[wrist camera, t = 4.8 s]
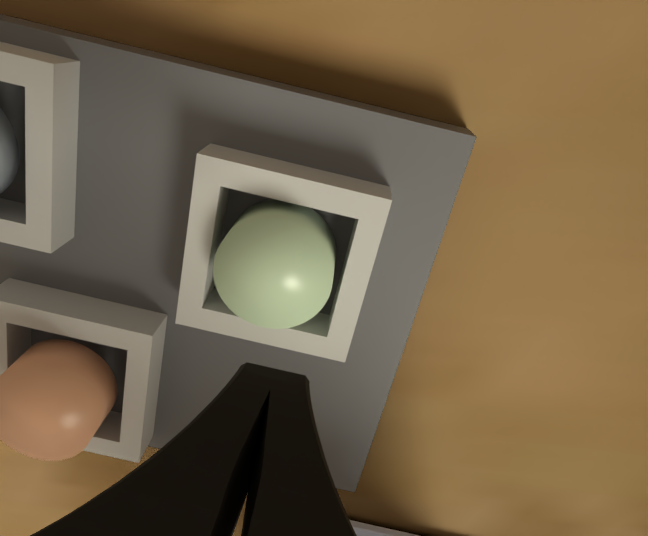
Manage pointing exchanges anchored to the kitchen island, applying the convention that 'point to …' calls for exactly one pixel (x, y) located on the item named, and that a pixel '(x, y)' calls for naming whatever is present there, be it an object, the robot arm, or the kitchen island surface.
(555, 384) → the kitchen island surface
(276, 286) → the sage button
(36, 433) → the terracotta button
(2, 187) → the slate button
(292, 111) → the button panel
